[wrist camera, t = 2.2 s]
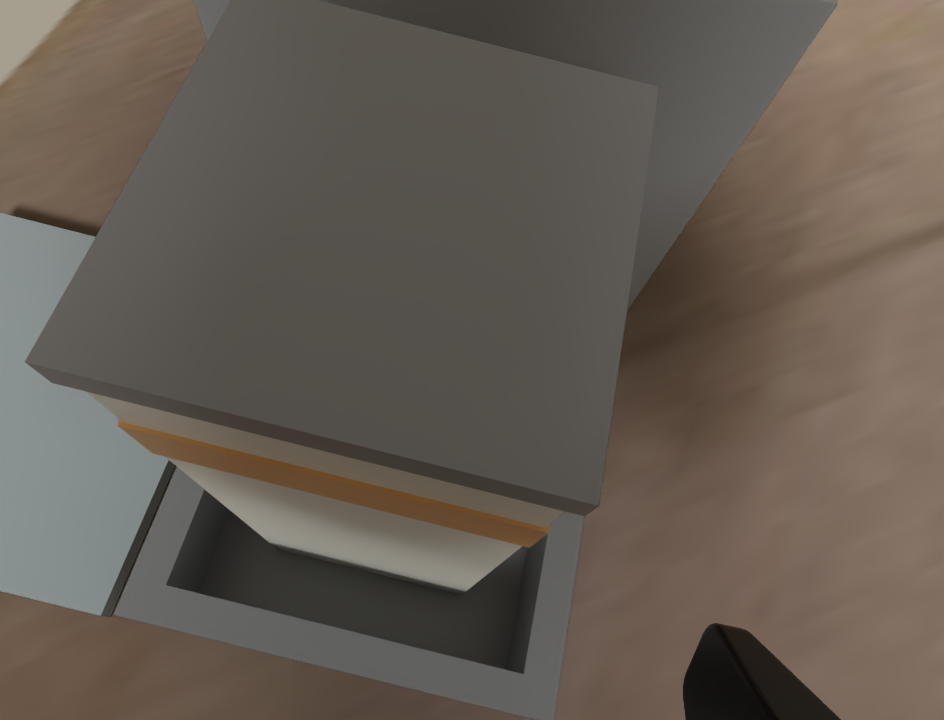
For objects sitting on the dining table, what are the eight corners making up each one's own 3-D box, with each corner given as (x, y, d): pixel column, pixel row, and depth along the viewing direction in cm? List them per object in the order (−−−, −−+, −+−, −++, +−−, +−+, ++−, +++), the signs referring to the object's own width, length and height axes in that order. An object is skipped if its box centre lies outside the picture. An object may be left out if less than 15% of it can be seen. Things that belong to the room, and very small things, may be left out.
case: (527, 711, 17) (853, 870, 5) (160, 620, 17) (-434, 552, 5) (587, 352, 21) (836, -34, 9) (296, 278, 21) (165, -205, 9)
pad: (110, 616, 16) (100, 615, 16) (-200, 539, 16) (-220, 536, 16) (252, 285, 21) (249, 275, 20) (5, 223, 21) (-5, 211, 20)
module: (464, 599, 17) (599, 505, 6) (271, 551, 17) (24, 361, 6) (503, 417, 19) (659, 87, 8) (332, 374, 19) (241, -20, 8)
